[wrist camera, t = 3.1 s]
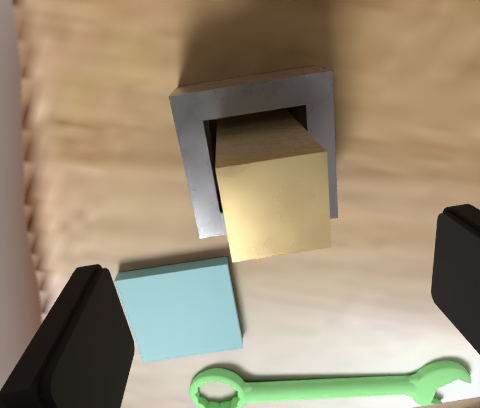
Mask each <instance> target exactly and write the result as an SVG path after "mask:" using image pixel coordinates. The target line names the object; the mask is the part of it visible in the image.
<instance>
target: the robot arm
mask: <svg viewBox="0 0 480 408" xmlns="http://www.w3.org/2000/svg"><path fill="white" fill-rule="evenodd" d="M431 294H432V298H433V300H434V302H435V304H436V305H437V306H438V307H439V309H440V310H441V311H442V312H443V313H444V314H445V315H446V317H447V318H448V319H449V320H450V321H451V322H452V323H453V325H454V326H455V327H456V328H457V329H458V330H459V331H460V333H461V334H462V335H463V336H464V337H465V338H466V339H467V341H468V342H469V343H470V344H471V345H472V346H473V347H474V349H475V350H476V351H477V352H478V353H479V354H480V210H479V209H477V208H475V207H474V206H472V205H470V204H464V205H458V206H451V207H446V208H445V209H444V211H443V213H441V214H439V216H438V219H437V230H436V241H435V253H434V264H433V275H432V287H431ZM133 356H134V341H133V337H132V335H131V332H130V329H129V326H128V323H127V320H126V317H125V315H124V312H123V309H122V306H121V303H120V300H119V297H118V295H117V292H116V289H115V286H114V283H113V280H112V277H111V275H110V272H109V270H108V269H107V268H102V267H101V266H100V265H99V264H96V265H90V266H83V267H78V268H76V269H75V271H74V273H73V274H72V276H71V277H70V279H69V281H68V282H67V284H66V285H65V287H64V289H63V290H62V292H61V294H60V295H59V297H58V298H57V300H56V302H55V303H54V305H53V306H52V308H51V310H50V311H49V313H48V315H47V316H46V318H45V319H44V321H43V323H42V324H41V326H40V328H39V329H38V331H37V332H36V334H35V336H34V337H33V339H32V340H31V342H30V344H29V345H28V347H27V349H26V350H25V352H24V353H23V355H22V357H21V358H20V360H19V362H18V363H17V365H16V366H15V368H14V370H13V371H12V373H11V375H10V376H9V378H8V379H7V381H6V383H5V384H4V386H3V388H2V389H1V391H0V408H120V407H121V403H122V399H123V395H124V391H125V387H126V383H127V379H128V375H129V372H130V368H131V364H132V360H133ZM415 408H480V397H477V398H470V399H464V400H458V401H452V402H446V403H439V404H433V405H427V406H421V407H415Z"/></svg>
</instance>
